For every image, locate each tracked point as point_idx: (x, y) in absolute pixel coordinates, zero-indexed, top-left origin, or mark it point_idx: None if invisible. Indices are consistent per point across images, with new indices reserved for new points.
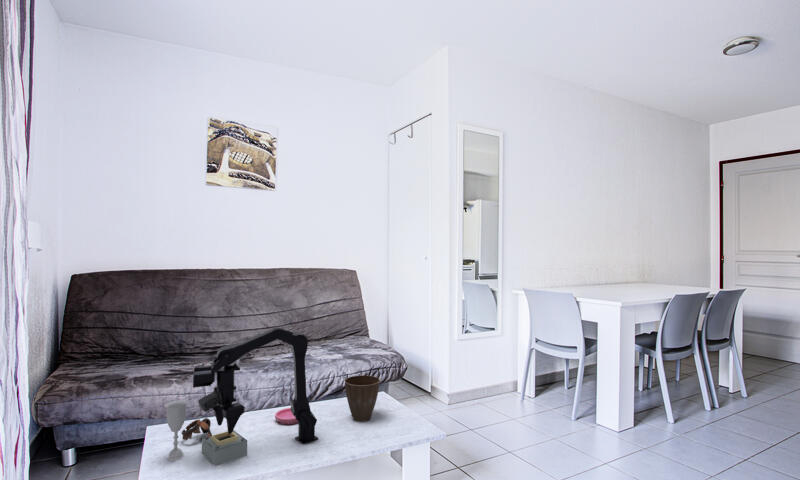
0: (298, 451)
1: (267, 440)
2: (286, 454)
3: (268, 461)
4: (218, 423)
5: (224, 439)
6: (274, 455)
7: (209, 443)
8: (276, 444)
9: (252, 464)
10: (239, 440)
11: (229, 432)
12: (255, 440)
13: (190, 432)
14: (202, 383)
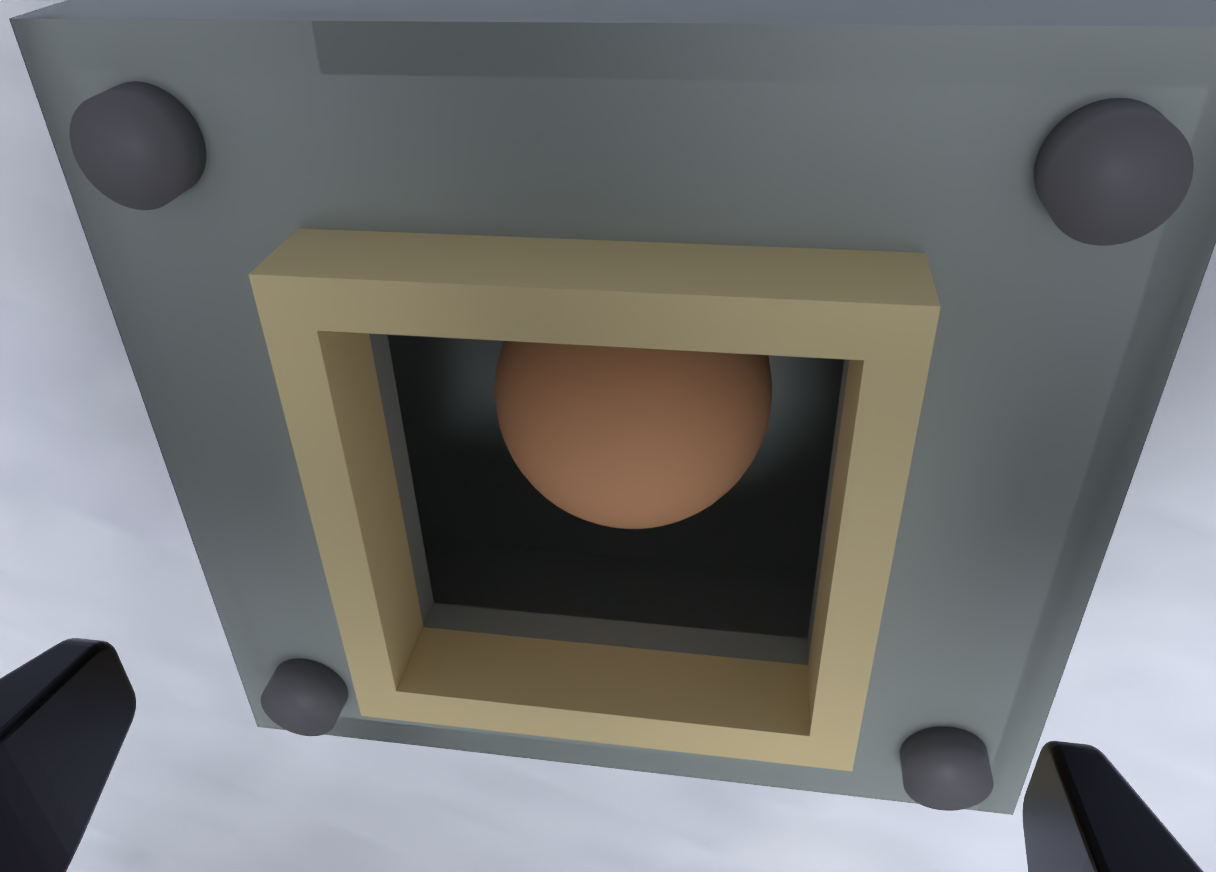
0: (147, 865)
1: (654, 857)
2: (130, 784)
3: (28, 606)
4: (1065, 816)
5: (343, 459)
6: (166, 712)
7: (627, 85)
8: (460, 850)
9: (17, 449)
10: (332, 650)
11: (42, 677)
12: (781, 794)
13: None
14: None
